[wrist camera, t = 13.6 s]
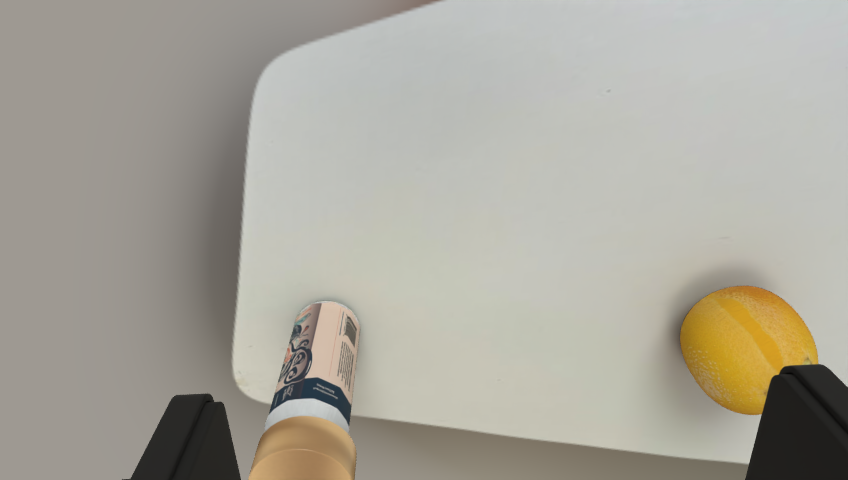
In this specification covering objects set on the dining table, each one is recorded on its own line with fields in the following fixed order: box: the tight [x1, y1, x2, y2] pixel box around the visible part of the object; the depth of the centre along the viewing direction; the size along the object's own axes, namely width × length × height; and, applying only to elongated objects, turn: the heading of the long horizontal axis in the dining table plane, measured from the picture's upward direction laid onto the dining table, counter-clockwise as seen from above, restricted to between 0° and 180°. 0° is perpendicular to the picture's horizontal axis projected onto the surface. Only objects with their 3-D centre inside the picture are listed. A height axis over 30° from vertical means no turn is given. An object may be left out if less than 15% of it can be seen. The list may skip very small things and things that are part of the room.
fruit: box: [680, 286, 818, 415], centre depth 42 cm, size 9×8×8 cm
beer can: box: [265, 301, 360, 435], centre depth 40 cm, size 5×5×12 cm
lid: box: [248, 416, 356, 480], centre depth 34 cm, size 6×6×2 cm
